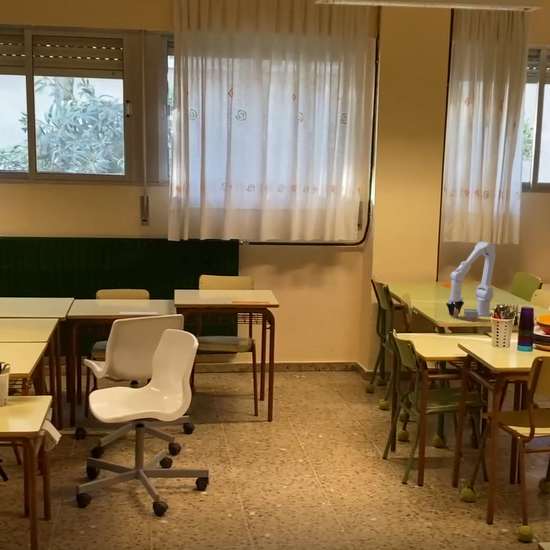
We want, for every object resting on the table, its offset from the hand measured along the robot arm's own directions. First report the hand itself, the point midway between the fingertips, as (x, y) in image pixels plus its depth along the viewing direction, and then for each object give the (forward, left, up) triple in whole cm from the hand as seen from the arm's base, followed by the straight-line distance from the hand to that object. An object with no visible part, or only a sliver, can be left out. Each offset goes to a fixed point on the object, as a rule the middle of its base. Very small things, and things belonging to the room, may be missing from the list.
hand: (454, 314), depth 409 cm
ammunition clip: (+10, +29, -2) cm, 31 cm away
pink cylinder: (0, 0, -2) cm, 2 cm away
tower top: (+5, +9, +1) cm, 10 cm away
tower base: (+5, +9, -2) cm, 11 cm away
